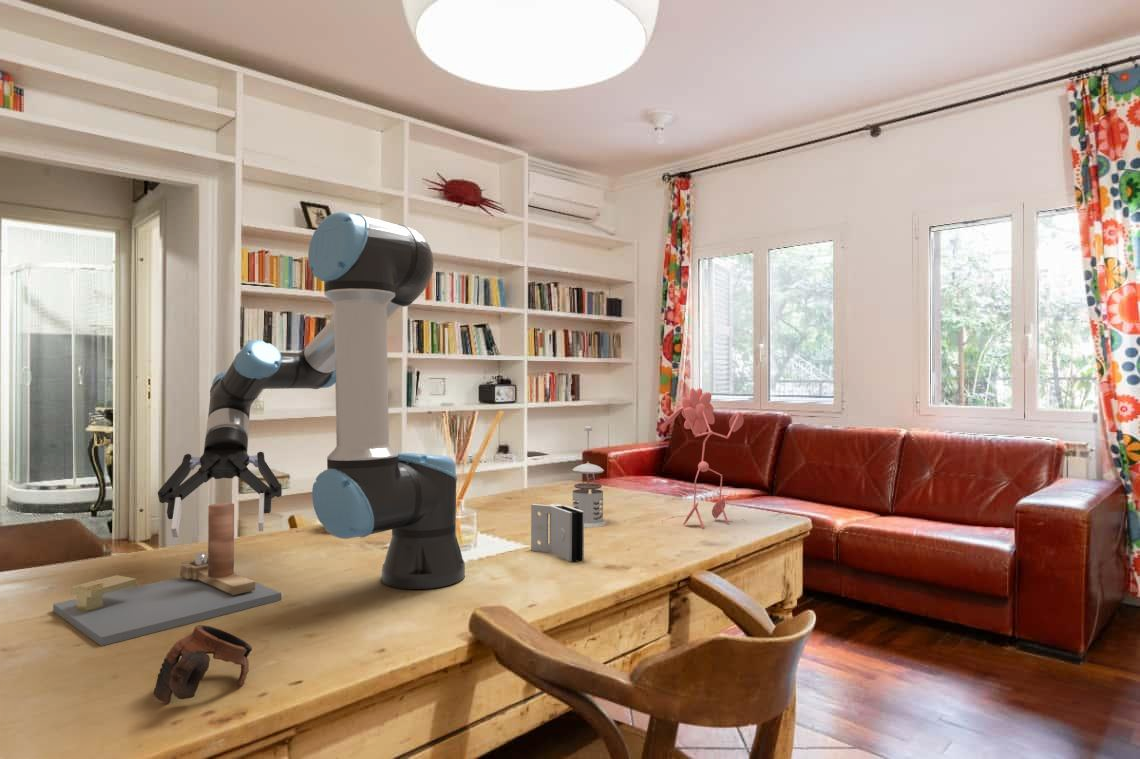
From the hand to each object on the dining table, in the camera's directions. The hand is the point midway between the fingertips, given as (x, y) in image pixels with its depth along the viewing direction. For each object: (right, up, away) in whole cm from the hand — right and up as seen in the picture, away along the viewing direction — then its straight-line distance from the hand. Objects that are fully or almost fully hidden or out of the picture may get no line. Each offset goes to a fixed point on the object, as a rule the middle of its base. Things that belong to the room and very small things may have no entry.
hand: (218, 530), depth 122 cm
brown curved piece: (+18, -11, -40) cm, 45 cm away
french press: (+67, -11, +57) cm, 88 cm away
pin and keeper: (-8, -9, -7) cm, 14 cm away
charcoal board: (-3, -10, -9) cm, 14 cm away
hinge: (+59, -11, +24) cm, 65 cm away
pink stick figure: (+95, -11, +59) cm, 112 cm away
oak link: (+1, -9, -1) cm, 9 cm away
